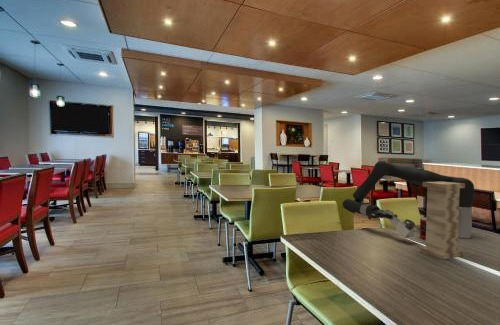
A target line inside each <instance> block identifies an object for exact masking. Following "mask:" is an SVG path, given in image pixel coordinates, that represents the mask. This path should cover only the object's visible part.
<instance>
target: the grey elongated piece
mask: <svg viewBox="0 0 500 325" xmlns="http://www.w3.org/2000/svg"><path fill="white" fill-rule="evenodd" d="M383 210H384V212H383V213H386V214H389V215H392V216H393V219H388V218H386V219H387V221H389V222H390V223H391V224H392V225H393V226H394V229H395V230H396V231H397V232H398V233H399V234H400V235H401V236H402V237H403V238H404V239H406V238H407V239H408V238H413V237H414V236H415V234H416V233H417V231H418V228H416V223H415V222H414V221H413V220H410V219H405V220H400V218H398V216H397V217H396V216H395V215H394V214H395V213H394V212H393V213H392V211H391V210H390V209H383Z"/></svg>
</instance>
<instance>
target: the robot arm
mask: <svg viewBox="0 0 500 325" xmlns="http://www.w3.org/2000/svg"><path fill="white" fill-rule="evenodd" d="M372 168H373V169H372V170H371V172H370V173H369V175H368V176H367V177H366V179H365V180H364V181H363V182H362V183H361V184H360V185H359V186H358V187H357V188H356V189H355V191H354V192H353V193H352V197H353V198H354V200H353V199H349V198H348V199H345V200H343V201H342V204H341V205H342V208H343V209H345V210H346V211H348V212H350V213H351V214H354V213H356V214H359V215H361V216H364V217H368V218H371V219H378V218H379V219H387V218H388V219H393V216H392V215H389V214H386V213H383V212H384V210H385V209H381V208H380V207H379V206H377V205H373V204H369V203H363V200H364V199H365V198H366V197H367V196H368V195H369V194H370V193H371V191H372V189H373V188H374V187H375V186H376V184H377V183H378V182H379V181H380V180H381V179H382V178H383V177H385V176H388V177H394V178H398V179H400V180H404V181H406V182H409V183H412V184H416V185H420V186H422V184H423V182H453V183H464V184H465V188H460V195H459V225H458V239H471V238H472V233H473V232H472V231H473V230H472V229H473V226H472V225H473V220H472V215H473V203H474V197H475V185H474V182H473V181H472V180H470V179H469V178H466V177H465V178H464V177H459V176H458V177H457V176H450V175H444V174H440V173H437V172H434V171H430V170H427V169H422V168H418V167H417V168H416V167H411V166H410V167H409V166H402V165H396V164H393V163H389V162H387V161H384V160H380V161H377V162H376V163H375V164H374V166H373V167H372ZM391 212H392V211H391ZM392 213H393V214H394V215H395V216H396V217H397V218H398V214H395V213H394V212H392ZM388 219H387V220H388Z"/></svg>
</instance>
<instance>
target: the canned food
mask: <svg viewBox="0 0 500 325" xmlns="http://www.w3.org/2000/svg"><path fill="white" fill-rule="evenodd" d="M426 217H427V216H426ZM426 217H420V218H419V219H420V220H419V238H420V240H424V241H426Z"/></svg>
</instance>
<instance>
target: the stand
mask: <svg viewBox="0 0 500 325" xmlns="http://www.w3.org/2000/svg"><path fill="white" fill-rule="evenodd" d="M421 187H425V188H427V189H426V191H427V192H426V240H425V246H422V247H420V249H419V250H420V253H422V254H425V255H427V256H430V255H431V257H433V258H437V259H439V260H442V261H443V260H444V261H445V260H448V259H452V258H458V257H463V256H464V252H463V250H459V237H458V225H459V195H460V188H465V184H464V183H453V182H423V184H422V185H421Z"/></svg>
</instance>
